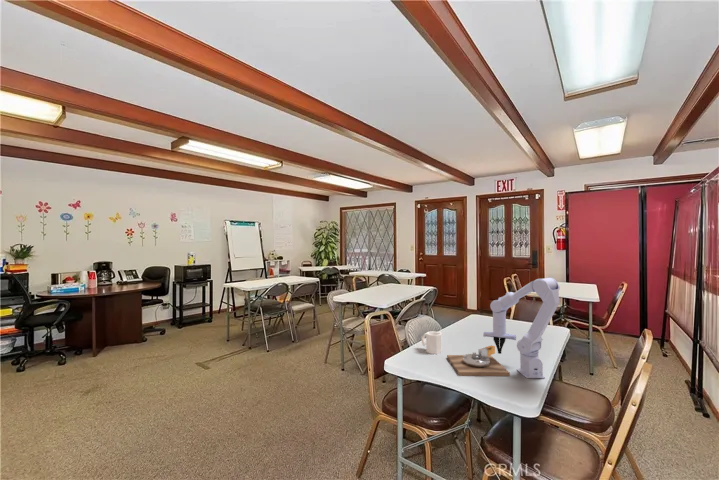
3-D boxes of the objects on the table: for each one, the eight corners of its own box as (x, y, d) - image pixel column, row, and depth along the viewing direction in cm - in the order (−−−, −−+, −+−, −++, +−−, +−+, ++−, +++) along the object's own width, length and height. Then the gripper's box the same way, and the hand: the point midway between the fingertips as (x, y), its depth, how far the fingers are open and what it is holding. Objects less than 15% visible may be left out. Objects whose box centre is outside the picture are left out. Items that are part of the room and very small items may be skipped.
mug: (445, 351, 173) (444, 333, 174) (437, 355, 167) (436, 336, 167) (425, 346, 182) (425, 329, 182) (417, 350, 175) (417, 332, 175)
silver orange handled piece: (478, 369, 144) (478, 357, 144) (457, 361, 154) (457, 349, 154) (504, 360, 154) (504, 349, 154) (482, 353, 164) (482, 342, 164)
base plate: (509, 376, 141) (509, 372, 141) (459, 375, 141) (459, 371, 141) (490, 357, 163) (490, 354, 163) (446, 357, 164) (446, 354, 164)
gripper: (516, 324, 156) (516, 352, 156) (484, 321, 163) (484, 348, 162) (515, 328, 150) (516, 357, 150) (482, 324, 156) (483, 352, 156)
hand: (499, 353), depth 156 cm, fingers closed
